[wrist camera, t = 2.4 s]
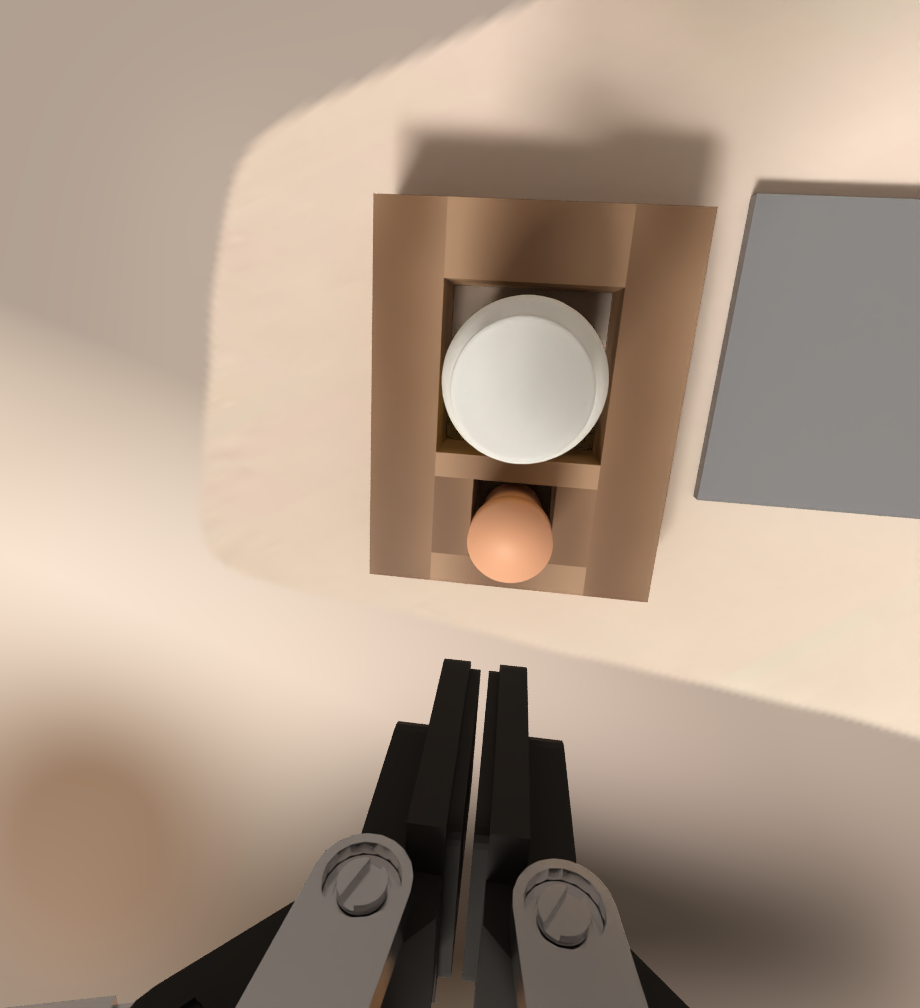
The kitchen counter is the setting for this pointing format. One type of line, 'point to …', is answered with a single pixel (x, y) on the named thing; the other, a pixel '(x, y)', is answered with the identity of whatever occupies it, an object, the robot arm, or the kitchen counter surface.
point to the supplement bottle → (525, 379)
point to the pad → (820, 360)
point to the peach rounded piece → (510, 535)
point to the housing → (627, 410)
